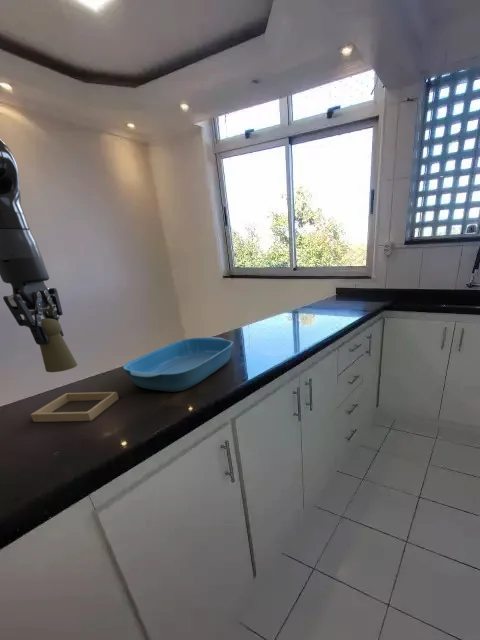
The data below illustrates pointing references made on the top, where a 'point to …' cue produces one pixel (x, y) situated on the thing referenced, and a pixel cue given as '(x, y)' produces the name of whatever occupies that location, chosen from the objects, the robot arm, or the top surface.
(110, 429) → the top surface
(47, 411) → the wooden frame
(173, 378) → the casserole dish
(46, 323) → the olive knobbed cone
